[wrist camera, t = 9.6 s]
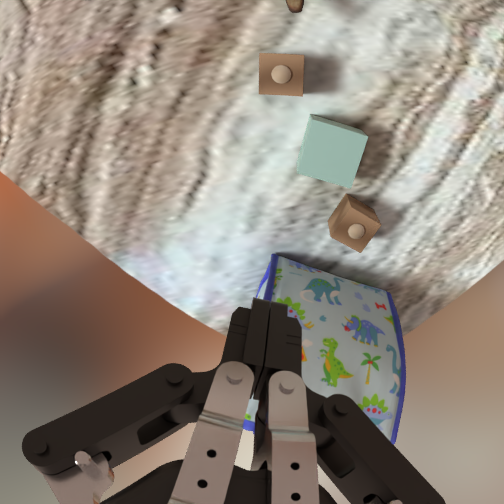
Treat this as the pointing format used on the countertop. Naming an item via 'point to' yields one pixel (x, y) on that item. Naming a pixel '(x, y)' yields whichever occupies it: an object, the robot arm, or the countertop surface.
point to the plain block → (331, 151)
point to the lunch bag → (342, 339)
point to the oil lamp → (295, 5)
